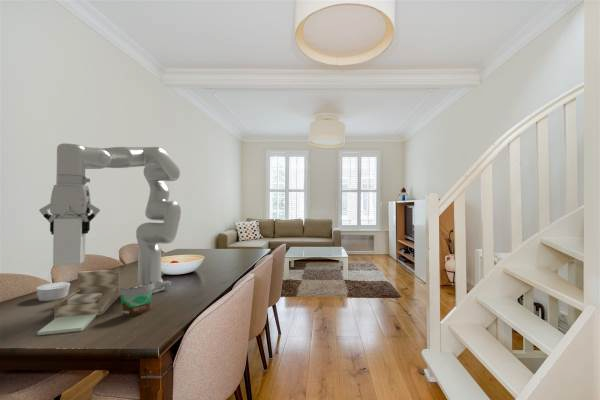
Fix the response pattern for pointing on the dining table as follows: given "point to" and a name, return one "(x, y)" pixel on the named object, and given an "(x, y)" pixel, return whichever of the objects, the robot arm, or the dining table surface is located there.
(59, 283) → the ramekin
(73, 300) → the offcut stack
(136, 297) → the food container
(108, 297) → the birch rack
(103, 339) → the dining table surface
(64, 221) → the milk carton
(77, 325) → the sage board
